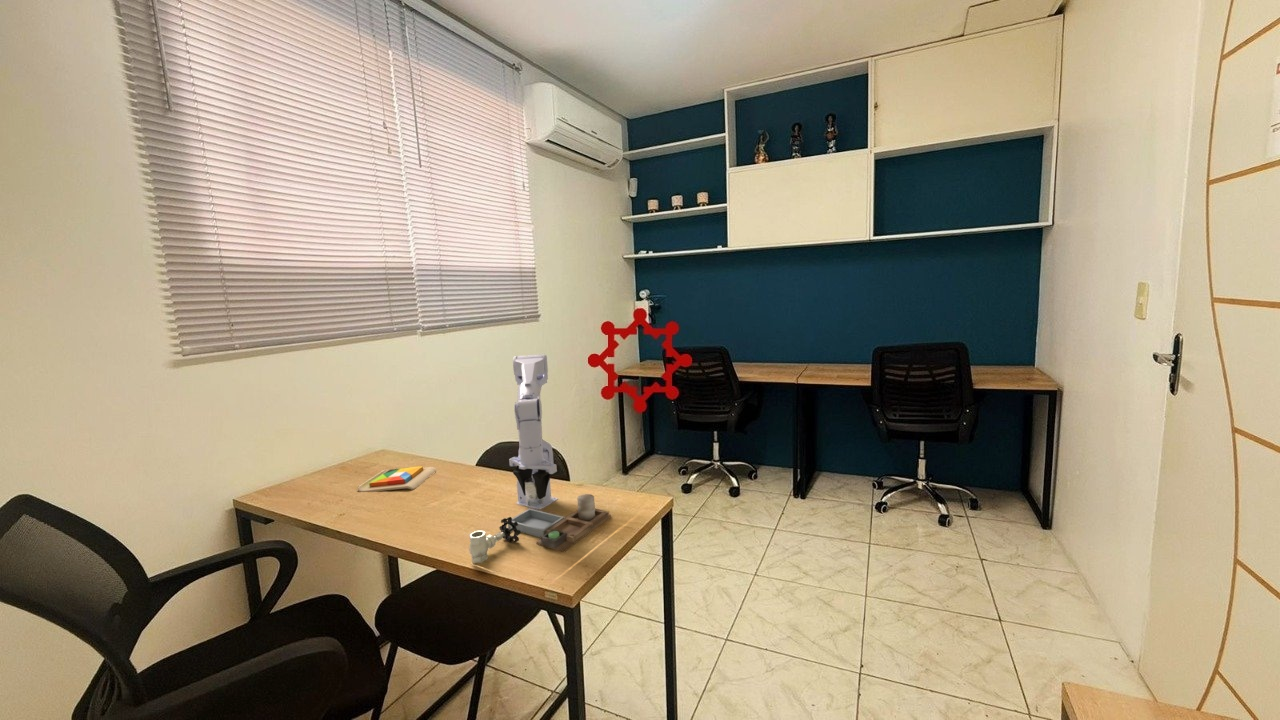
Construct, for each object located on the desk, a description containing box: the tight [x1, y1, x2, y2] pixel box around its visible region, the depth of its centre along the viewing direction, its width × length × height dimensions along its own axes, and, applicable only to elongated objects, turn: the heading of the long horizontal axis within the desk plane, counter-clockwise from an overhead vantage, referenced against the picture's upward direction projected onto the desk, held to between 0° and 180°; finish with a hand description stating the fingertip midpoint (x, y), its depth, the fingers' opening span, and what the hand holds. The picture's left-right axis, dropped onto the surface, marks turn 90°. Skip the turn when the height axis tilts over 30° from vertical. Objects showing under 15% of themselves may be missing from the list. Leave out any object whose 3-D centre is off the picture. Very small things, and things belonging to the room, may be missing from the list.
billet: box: [525, 477, 544, 506], centre depth 125 cm, size 4×4×6 cm
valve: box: [468, 516, 522, 566], centre depth 114 cm, size 7×7×12 cm
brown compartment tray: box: [535, 493, 612, 553], centre depth 123 cm, size 8×20×7 cm, turn 150°
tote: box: [507, 508, 565, 539], centre depth 126 cm, size 12×8×2 cm
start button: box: [548, 531, 559, 540], centre depth 116 cm, size 3×3×2 cm
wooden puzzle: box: [357, 465, 437, 493], centre depth 164 cm, size 18×19×4 cm
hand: (534, 495), depth 125 cm, fingers closed on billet, 4 cm apart
